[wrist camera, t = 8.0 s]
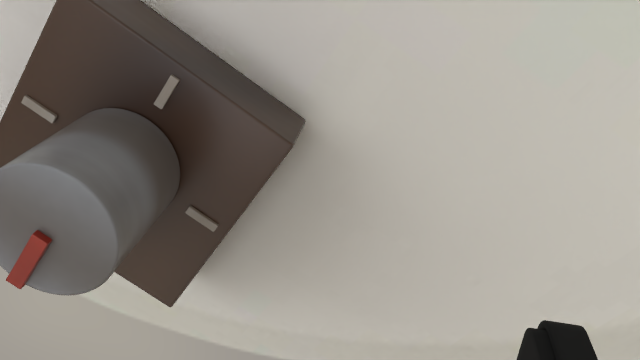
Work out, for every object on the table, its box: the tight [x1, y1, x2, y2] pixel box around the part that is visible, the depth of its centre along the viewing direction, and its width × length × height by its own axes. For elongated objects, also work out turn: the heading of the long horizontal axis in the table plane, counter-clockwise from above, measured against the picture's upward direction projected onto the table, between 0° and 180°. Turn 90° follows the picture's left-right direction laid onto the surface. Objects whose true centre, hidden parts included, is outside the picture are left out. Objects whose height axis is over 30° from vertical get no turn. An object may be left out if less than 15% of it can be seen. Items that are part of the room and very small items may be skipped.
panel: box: [0, 0, 305, 307], centre depth 25 cm, size 10×10×3 cm
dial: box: [0, 108, 180, 295], centre depth 21 cm, size 5×5×6 cm
